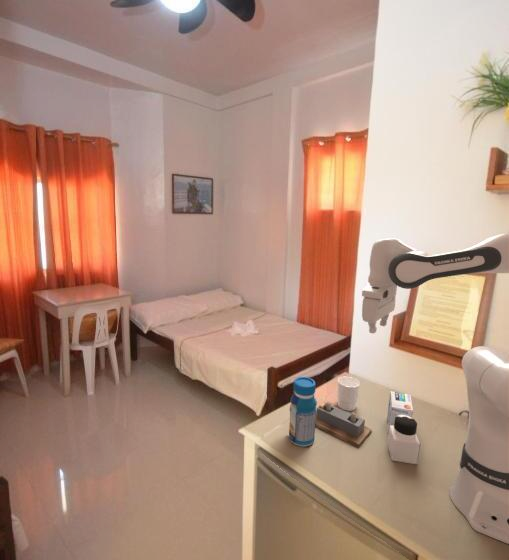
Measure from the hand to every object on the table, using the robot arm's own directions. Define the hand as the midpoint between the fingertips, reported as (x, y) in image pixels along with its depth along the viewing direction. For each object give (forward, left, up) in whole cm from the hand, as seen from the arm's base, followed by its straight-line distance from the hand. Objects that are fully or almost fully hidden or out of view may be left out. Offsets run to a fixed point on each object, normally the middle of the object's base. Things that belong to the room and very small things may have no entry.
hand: (377, 329), depth 110 cm
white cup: (+10, -3, -34) cm, 36 cm away
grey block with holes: (+6, +11, -33) cm, 35 cm away
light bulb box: (-9, -2, -34) cm, 36 cm away
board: (+6, +11, -34) cm, 36 cm away
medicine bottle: (-14, +10, -34) cm, 38 cm away
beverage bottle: (+12, +24, -34) cm, 44 cm away
